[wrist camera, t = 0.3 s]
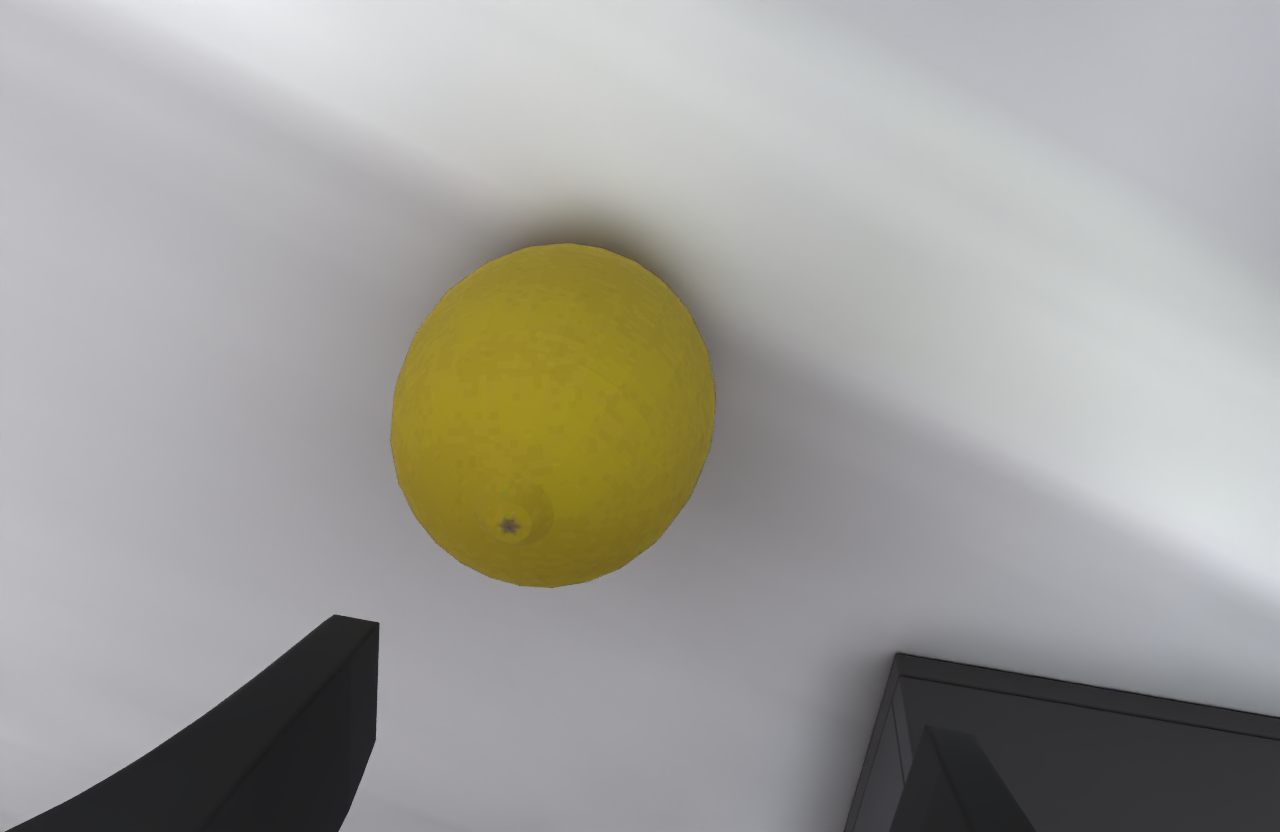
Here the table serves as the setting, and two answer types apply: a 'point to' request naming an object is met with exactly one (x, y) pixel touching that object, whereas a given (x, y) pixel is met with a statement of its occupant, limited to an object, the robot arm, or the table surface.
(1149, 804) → the dark grey square box
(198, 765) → the robot arm
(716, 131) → the table surface
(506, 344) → the lemon
